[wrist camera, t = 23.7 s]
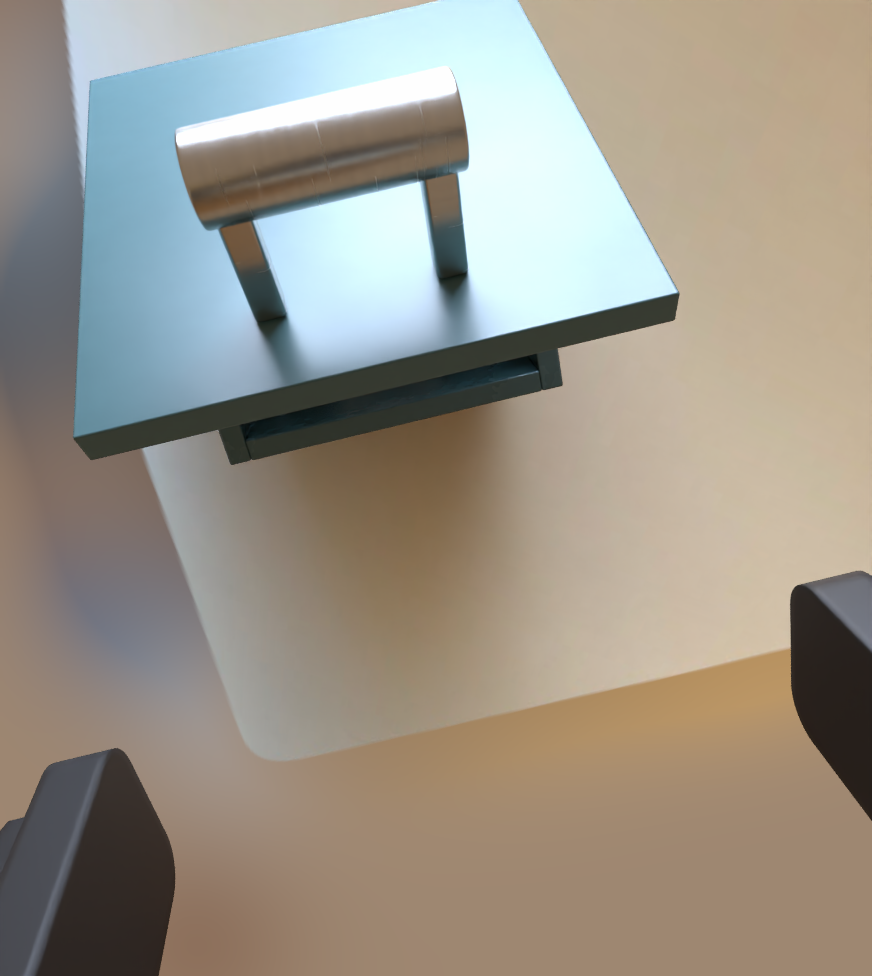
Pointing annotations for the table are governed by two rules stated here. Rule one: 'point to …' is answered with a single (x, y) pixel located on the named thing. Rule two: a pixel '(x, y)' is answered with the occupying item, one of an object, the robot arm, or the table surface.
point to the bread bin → (392, 407)
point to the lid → (342, 223)
